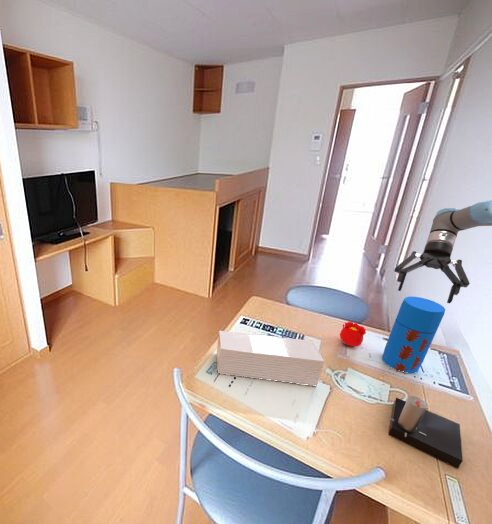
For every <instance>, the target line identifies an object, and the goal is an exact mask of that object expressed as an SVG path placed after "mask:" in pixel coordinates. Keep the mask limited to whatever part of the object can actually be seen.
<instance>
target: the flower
mask: <svg viewBox="0 0 492 524" xmlns="http://www.w3.org/2000/svg"><path fill="white" fill-rule="evenodd" d="M366 334H367V329H366V328H365V327H364V326H362V325H359V324H358V323H357V322H354V323H353V322H352V321H347V322H345V321H344V323H342V328H341V330H340V333H339V338H340V339H341V341H342V343H344V344H345V345H347V346H351V347H360V346H361V345H362V344H363V341H364V335H366Z"/></svg>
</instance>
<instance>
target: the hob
mask: <svg viewBox="0 0 492 524" xmlns="http://www.w3.org/2000/svg"><path fill="white" fill-rule="evenodd" d="M406 401H407V400H406ZM406 401H405V400H403V399H401V398H399V397H395V400H394V402H393V404H392V409H391V415H390V417H387V419H388V420H390V423H389V428H388V436H389V437H392V438H394V439H396V440H397V441H400V442H402V443H404V444H406V445H408V446H411V447H413V448H414V449H416V450H419V451H420V452H422V453H424V454H427V455H429V456H431V457H433V458H434V459H437V460H439V461H441V462H443V463H445V464H447V465H450V466H451V467H453V468H455V469H459V468H460V466H461V465H462V463H463V462H464V460H463V447H462V435H461V424H460V423H458V422H455V421H453V420H451V419H448V418H446V417H443V416H442V415H439V414H437V413H435V412H432V411H430V410H427V409H426V411H425V413H424V416H423V418H422V420H421V422H420V424H419V426H418V428H417V430H416V432H414V433H410V432H407V431H405V430H403V429H402V428H401V427H400V426H399V425H398V423H397V421H398V419H399V417H400V415H401V413H402V410H403V408H404V406H405V404H406Z"/></svg>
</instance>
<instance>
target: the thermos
mask: <svg viewBox="0 0 492 524" xmlns="http://www.w3.org/2000/svg"><path fill="white" fill-rule="evenodd" d="M445 312H446V308H445V307H444V306H443V305H442V304H440V303H438V302H436V301H434V300H431V299H428V298H424V297H419V296H406V297H405V298H404V299H403V300H402V302H401V304H400V307H399V309H398V312H397V315H396V317H395V321H394V322H393V326H392V327H391V331H390V333H389V336H388V339H387V342H386V343H385V346H384V350H383V352H382V357H381V358H382V361H383V363H384V364H385V365H387V366H388V365H389V366H388V367H389V368H391V367H392V368H391V369H393V368H394V369H393V370H395V369H396V370H395V371H398V370H400V371H404V372H408V373H414V374H416V373H415V372H417V373H418V372H419V370H420V369H421V367H422V364H423V363H424V361H425V358H426V356H427V354H428V352H429V349H430V347H431V346H432V345H431V344H432V342H433V341H434V339H435V336H436V334H437V331H438V329H439V328H440V325H441V322H442V320H443V318H444V316H445ZM400 371H399V372H400ZM404 372H403V373H404ZM408 373H407V374H408Z"/></svg>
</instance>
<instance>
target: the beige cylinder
mask: <svg viewBox="0 0 492 524" xmlns="http://www.w3.org/2000/svg"><path fill="white" fill-rule="evenodd" d="M428 408H429V405H428V403H427V402H426V401H425V400H423V399H422V398H420V397H418V396H415V395H410V396H408V397H407V399H406V404H405V406H404V408H403V410H402V413H401V415H400V417H399V419H398V421H397V423H398V425H399V426H400V427H401V428H402V429H403V430H405V431H407V432H410V433H414V432H416V430H417V428H418V426H419V424H420V422H421V420H422V418H423V416H424V413H425V411H426V410H427V409H428Z"/></svg>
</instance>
